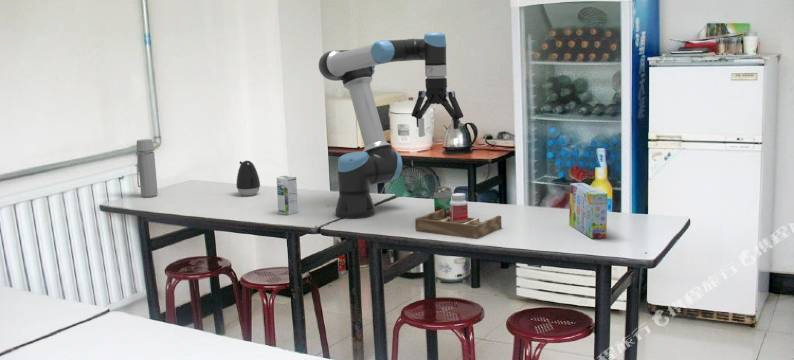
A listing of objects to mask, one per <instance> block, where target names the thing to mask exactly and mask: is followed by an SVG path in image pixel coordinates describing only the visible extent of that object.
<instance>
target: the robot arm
mask: <svg viewBox="0 0 794 360" xmlns="http://www.w3.org/2000/svg"><path fill="white" fill-rule="evenodd" d="M423 36H424V37H423V38H408V39H393V40H392V39H390V40H388V39H387V40H386V39H385V40H384V39H383V40H381V39H380V40H377V41H375V42H373V44H367V45H365V46H360V47H356V48H352V49H344V50H343V49H342V50H329V51H327V52H324V53H323V55H322V56H321V57H320V58H319V60H318V70H319V72H320V74H321V75H322V77H324V78H325V79H326V80H329V81H334V82H335V81H336V82H337V81H340V82H341V81H342V84H343V87H344V88H345V89H347V90H348V92H349V95H350V100H351V102H352V106H353V110H354V114H355V117H356V120H357V123H358V129H359V131H360V136H361V138H362V143H363V146H364V149H363V150H362V151H354V152H347V153H344V154H343V155H341V156H339V157H338V159H337V175H338V176H337V177H338V195H339V196H338V199H337V203H336V206H335V211H334V212H335V216H336V217H338V218H341V219H363V218H368V217H372V216H375V214H376V207H375V203H374V202H373V199H372V196H371V192H370V191H371V190H370V186H371V185H377V184H381V183H388V182H391V181H395V180H397V179H398V178H399V177H400V175H401V173H402V170H403V160H402V156H401V154H400V153H398V151H396V150H395V149H393V147H392V144H391V143H389V142H387V140H386V137H385V132H384V129H383V126H382V122H381V119H380V115H379V111H378V108H377V105H376V104H377V103H376V102H375V96H374V94H373V91H372V90H373V89H372V86H371V83H372V81H373V75H374V74H375V72H376V70H375V68H376V66H378V65H383V64H388V63H395V62H410V61H424V70H425V72H424V74H425V77H426V78H425V79H424V80H425V82H424V83H425V89H426V90H419V91H418V94H417V100H416V102H415V104H414V107H413V109H412V112H411V117H413V118H415V119H416V128H418V138H422V137H425V118H424V115H425V113H426V112H427V111H428V109H429V108H430V106H431V105H441V106H442V107H443V108H444V109H445V110H446V112H447V113H448V115H449V116H450V117H451V119H450V139H451V140H452V139H457V138H458V132H457V130H458V129H459V120H460V119H462V118H464V114H463V111H462V109H461V107H460V104H459V102H458V100H457V98H456V92H455V91H454V90H451V91H447V90H448V89H447V88H448V79H447V76H448V75H447V74H448V71H447V69H448V68H447V41H446V40H447V39H446V34H445V33H444V32H430V33H429V32H427V33H425V34H424V35H423ZM425 97H426V100H425ZM447 98H448V99H447ZM424 100H425V101H424Z"/></svg>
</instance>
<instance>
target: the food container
mask: <svg viewBox="0 0 794 360" xmlns="http://www.w3.org/2000/svg"><path fill="white" fill-rule="evenodd" d="M437 188H438V190H436V191H435V192H433V203H434V206H433V207H434V208H433V209H434V212H436V211H438V210H441V209H443V210H444V214H445V218H449V217H450V201H452V194H454V193H453V190H452V188H451V187H449V186H437Z"/></svg>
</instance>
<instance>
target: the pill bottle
mask: <svg viewBox="0 0 794 360" xmlns="http://www.w3.org/2000/svg"><path fill="white" fill-rule="evenodd" d="M468 207H469V206H468V201H467V200H466V193H464V192H463V193H462V192H457V193H456V192H455V193H453V194H452V196H451V201H450V216H449V217H450V222H455V223H466V222H468V217H469V215H468V214H469V213H468V211H469V210H468Z"/></svg>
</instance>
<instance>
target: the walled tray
mask: <svg viewBox="0 0 794 360" xmlns="http://www.w3.org/2000/svg"><path fill="white" fill-rule="evenodd" d="M414 220H415V222H414V223H415V231H416V232H422V233H430V234H438V235H439V234H440V235H445V236H451V237H452V236H454V237H461V238H470V239H479V238H481V237H482V238H483V237H484V236H486V235H488V234H490V233H493V232H495V231H498V230H499V229H502V215H497V216H494V217H491V218H489V219H487V220H484V221H480V218H479V217H472V216H471V217H469V216H468V222H466V223H455V222H450V216H449V217H446V218H445V214H444V210H443V209H441V210H438V211H436V212H435V211H434V212H431V213H427V214H425V215H423V216H420V217H417V218H415V219H414Z"/></svg>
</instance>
